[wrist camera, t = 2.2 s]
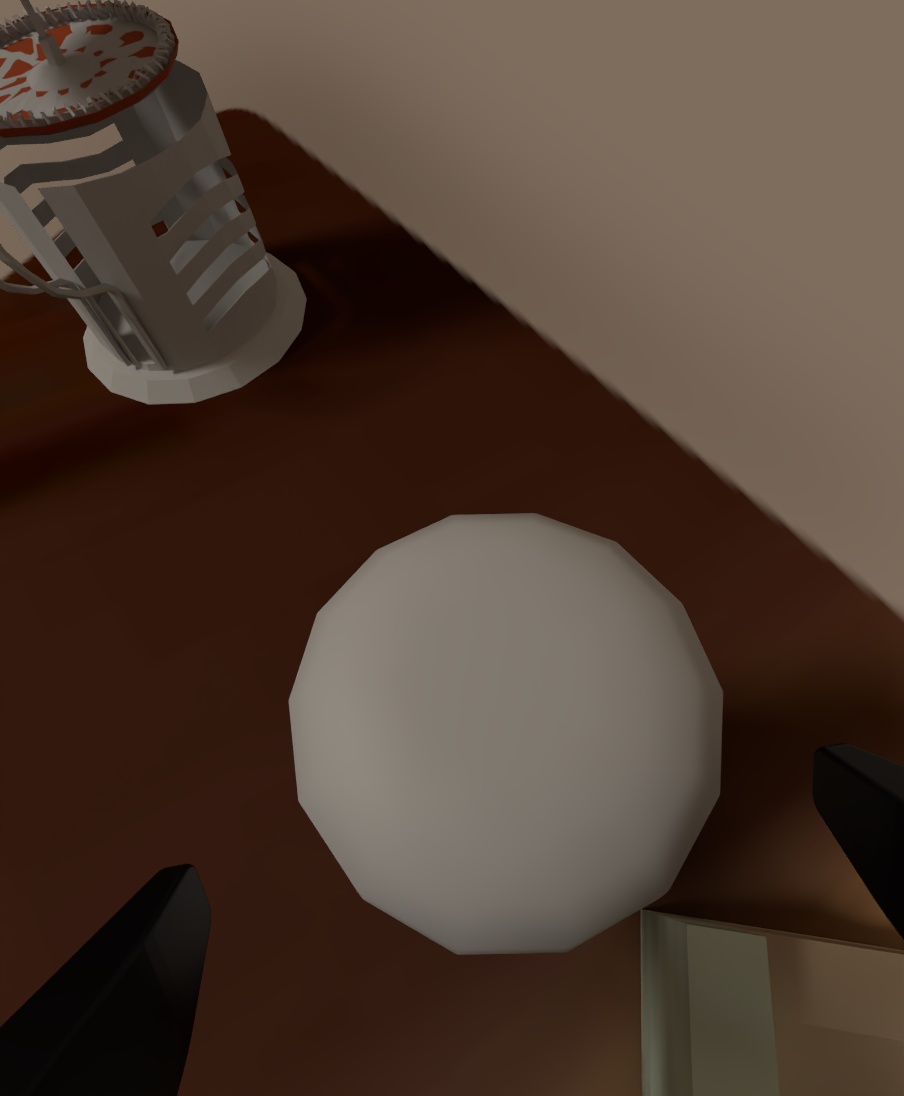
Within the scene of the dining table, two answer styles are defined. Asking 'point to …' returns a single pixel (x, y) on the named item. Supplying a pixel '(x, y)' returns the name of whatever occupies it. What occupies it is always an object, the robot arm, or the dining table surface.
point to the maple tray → (767, 1012)
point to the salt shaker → (506, 733)
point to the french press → (139, 207)
